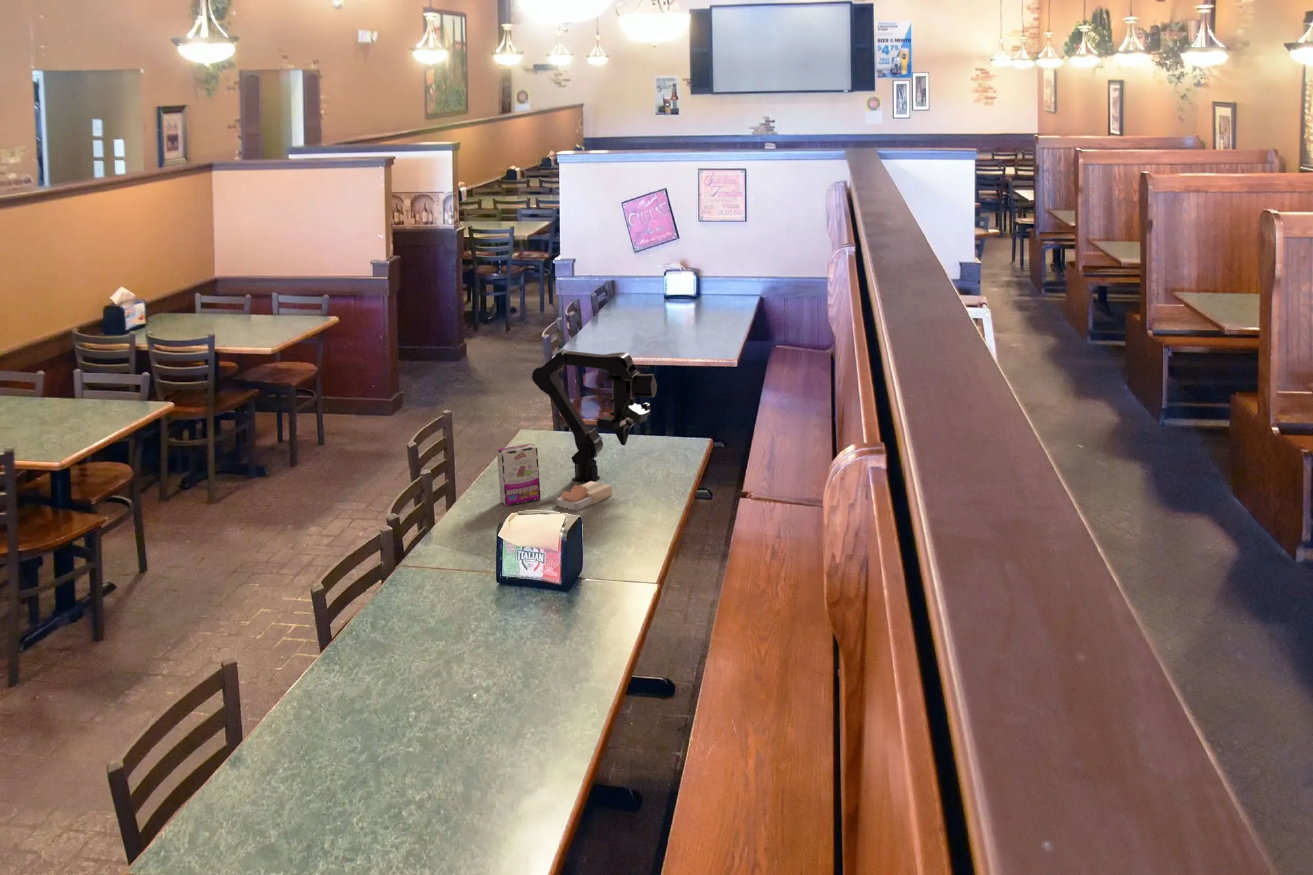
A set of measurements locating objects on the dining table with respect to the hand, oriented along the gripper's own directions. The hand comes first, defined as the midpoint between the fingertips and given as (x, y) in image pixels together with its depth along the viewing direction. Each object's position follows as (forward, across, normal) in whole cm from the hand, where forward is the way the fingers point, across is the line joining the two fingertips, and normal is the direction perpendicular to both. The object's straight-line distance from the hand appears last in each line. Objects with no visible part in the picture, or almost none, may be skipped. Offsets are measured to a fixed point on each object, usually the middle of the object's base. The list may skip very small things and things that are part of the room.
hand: (623, 444), depth 348 cm
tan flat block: (+12, -16, 0) cm, 20 cm away
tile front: (+9, -25, 0) cm, 27 cm away
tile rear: (+10, -22, 0) cm, 24 cm away
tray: (+12, -24, 0) cm, 27 cm away
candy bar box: (+12, -30, +16) cm, 36 cm away
